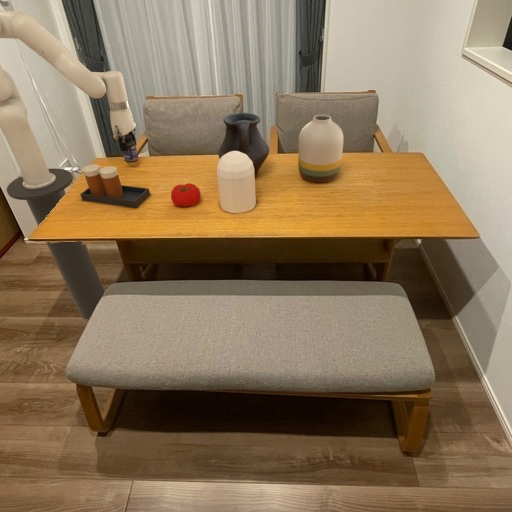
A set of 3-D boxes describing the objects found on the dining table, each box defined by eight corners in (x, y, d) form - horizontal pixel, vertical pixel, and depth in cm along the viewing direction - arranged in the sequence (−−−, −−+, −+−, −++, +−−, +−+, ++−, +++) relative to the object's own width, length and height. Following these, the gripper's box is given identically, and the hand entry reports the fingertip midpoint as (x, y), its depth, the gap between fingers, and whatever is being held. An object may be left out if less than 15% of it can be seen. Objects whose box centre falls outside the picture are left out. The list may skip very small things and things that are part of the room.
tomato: (172, 198, 148) (168, 183, 144) (200, 194, 150) (198, 179, 146) (173, 211, 141) (169, 195, 137) (202, 207, 142) (200, 191, 138)
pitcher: (266, 161, 171) (264, 103, 155) (273, 184, 154) (272, 122, 138) (219, 165, 169) (213, 107, 154) (222, 189, 152) (215, 126, 137)
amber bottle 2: (104, 198, 149) (95, 172, 142) (113, 191, 153) (105, 165, 146) (118, 200, 147) (110, 174, 140) (127, 192, 152) (119, 167, 145)
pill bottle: (136, 163, 168) (131, 138, 161) (122, 163, 168) (116, 138, 161) (140, 157, 173) (135, 133, 166) (126, 157, 173) (121, 133, 166)
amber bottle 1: (88, 196, 150) (78, 170, 144) (97, 189, 155) (89, 163, 148) (101, 198, 149) (92, 172, 142) (110, 190, 153) (102, 165, 147)
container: (259, 210, 139) (257, 158, 126) (222, 215, 137) (216, 163, 125) (252, 192, 149) (249, 142, 137) (218, 197, 148) (212, 147, 135)
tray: (82, 200, 150) (80, 194, 148) (98, 188, 157) (96, 181, 156) (136, 208, 144) (134, 201, 142) (150, 194, 151) (148, 188, 149)
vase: (317, 163, 167) (320, 106, 152) (348, 176, 156) (355, 116, 142) (289, 176, 158) (289, 117, 143) (320, 190, 148) (324, 129, 133)
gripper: (123, 98, 163) (132, 139, 174) (98, 110, 150) (109, 154, 161) (138, 99, 161) (146, 141, 172) (115, 112, 148) (125, 156, 160)
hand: (128, 147), depth 167 cm, fingers closed on pill bottle, 6 cm apart
